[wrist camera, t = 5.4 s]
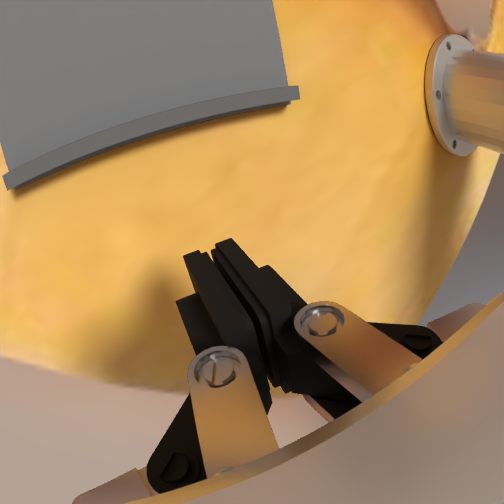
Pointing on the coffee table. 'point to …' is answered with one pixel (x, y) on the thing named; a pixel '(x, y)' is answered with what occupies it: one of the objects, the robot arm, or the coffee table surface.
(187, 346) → the coffee table surface
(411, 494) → the robot arm
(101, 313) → the coffee table surface
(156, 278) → the coffee table surface
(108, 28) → the slate mat
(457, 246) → the coffee table surface
